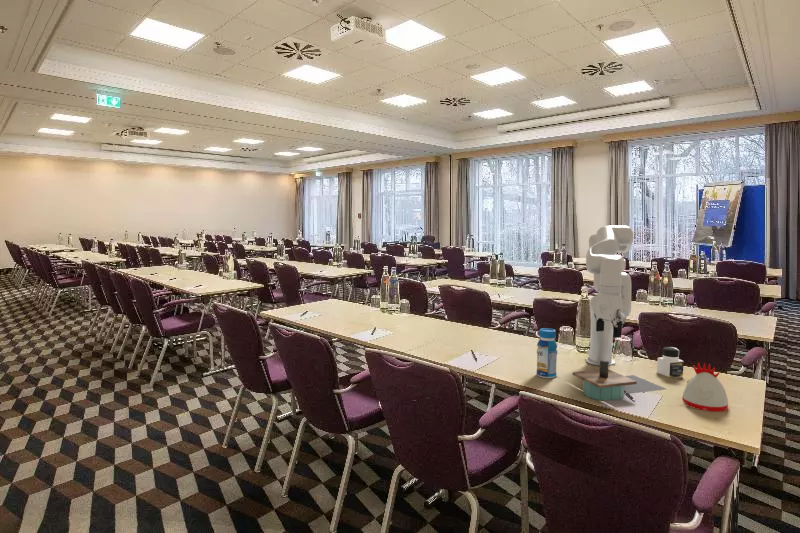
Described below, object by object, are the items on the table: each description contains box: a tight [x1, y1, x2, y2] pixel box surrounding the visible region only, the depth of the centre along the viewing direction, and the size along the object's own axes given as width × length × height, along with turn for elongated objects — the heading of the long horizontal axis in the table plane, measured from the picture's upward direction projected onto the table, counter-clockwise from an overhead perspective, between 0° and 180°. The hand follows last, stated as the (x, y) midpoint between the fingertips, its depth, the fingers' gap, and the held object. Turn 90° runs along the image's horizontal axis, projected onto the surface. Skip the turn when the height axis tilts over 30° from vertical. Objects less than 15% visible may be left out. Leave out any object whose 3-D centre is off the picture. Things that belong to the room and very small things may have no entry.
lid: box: [571, 360, 637, 388], centre depth 185 cm, size 16×16×7 cm
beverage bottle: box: [536, 327, 558, 379], centre depth 208 cm, size 8×8×20 cm
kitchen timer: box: [682, 362, 729, 412], centre depth 176 cm, size 14×14×15 cm
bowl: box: [582, 380, 625, 402], centre depth 185 cm, size 14×14×6 cm
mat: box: [624, 374, 667, 394], centre depth 196 cm, size 18×18×1 cm
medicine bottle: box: [656, 346, 684, 379], centre depth 208 cm, size 7×7×12 cm
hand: (608, 334), depth 186 cm, fingers open, 9 cm apart
